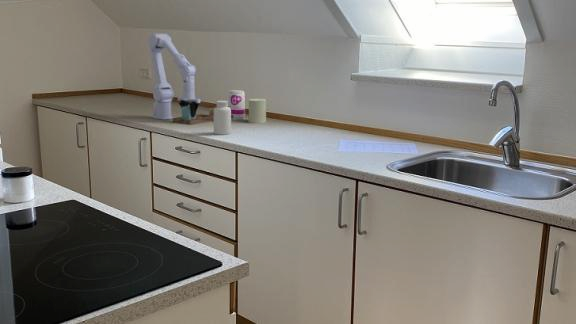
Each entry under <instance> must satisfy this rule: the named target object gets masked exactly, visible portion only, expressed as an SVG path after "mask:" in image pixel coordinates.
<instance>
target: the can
mask: <svg viewBox="0 0 576 324" xmlns="http://www.w3.org/2000/svg"><path fill="white" fill-rule="evenodd" d="M248 123H250V124H265V123H267V99H265V98H249V99H248Z"/></svg>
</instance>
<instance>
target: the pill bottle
mask: <svg viewBox="0 0 576 324" xmlns="http://www.w3.org/2000/svg"><path fill="white" fill-rule="evenodd" d="M215 105H216V106H215V107H213V108H214V121H213V134H215V135H219V136H221V135H223V136H226V135H230V134H232V120H231V109H230V108H229V101H228V100H217V101H215Z"/></svg>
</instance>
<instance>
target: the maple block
mask: <svg viewBox="0 0 576 324" xmlns="http://www.w3.org/2000/svg"><path fill="white" fill-rule="evenodd" d="M214 108H215V107H212V108H209V109H208V110H209V112H208V115H213V116H214Z"/></svg>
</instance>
